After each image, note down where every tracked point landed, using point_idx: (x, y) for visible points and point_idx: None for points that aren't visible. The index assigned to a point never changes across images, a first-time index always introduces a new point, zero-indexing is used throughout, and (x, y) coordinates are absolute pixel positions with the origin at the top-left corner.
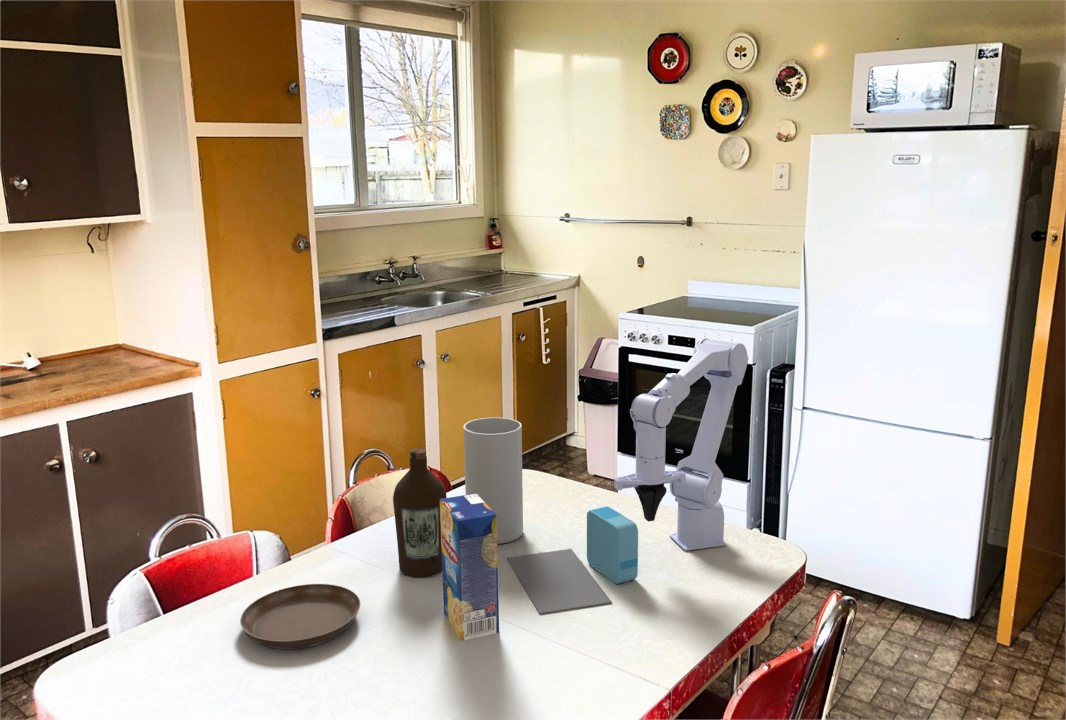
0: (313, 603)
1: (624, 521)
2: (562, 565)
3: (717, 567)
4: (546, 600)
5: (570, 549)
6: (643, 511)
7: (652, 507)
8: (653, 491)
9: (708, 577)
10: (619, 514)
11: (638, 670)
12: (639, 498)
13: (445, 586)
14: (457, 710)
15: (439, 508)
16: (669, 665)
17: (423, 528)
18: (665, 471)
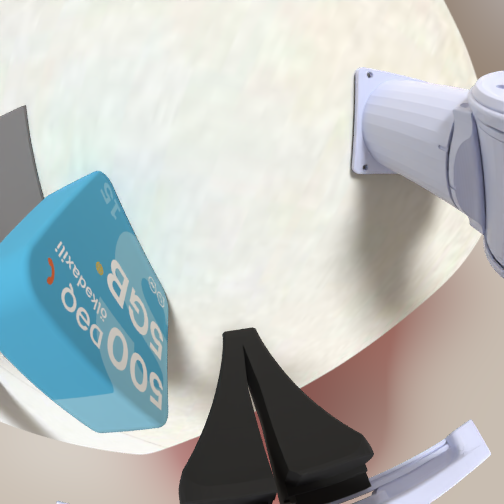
0: None
1: (121, 421)
2: (3, 210)
3: (367, 260)
4: None
5: (20, 111)
6: (223, 356)
7: (258, 411)
8: (278, 488)
9: (327, 296)
10: (97, 385)
11: (143, 436)
12: (209, 416)
13: None
14: (17, 427)
15: None
16: (175, 435)
17: None
18: (435, 496)
